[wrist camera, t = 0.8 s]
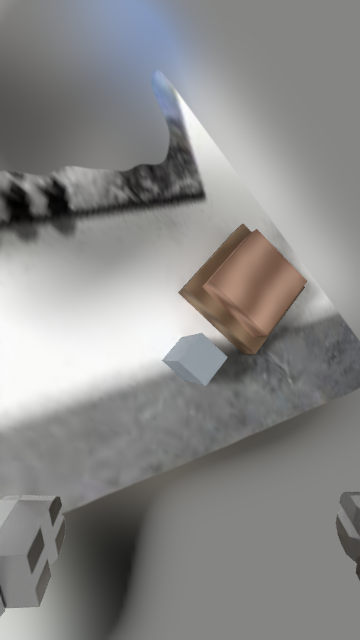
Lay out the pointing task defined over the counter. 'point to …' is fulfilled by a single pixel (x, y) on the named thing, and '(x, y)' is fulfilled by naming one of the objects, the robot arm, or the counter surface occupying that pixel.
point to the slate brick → (195, 359)
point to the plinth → (214, 307)
